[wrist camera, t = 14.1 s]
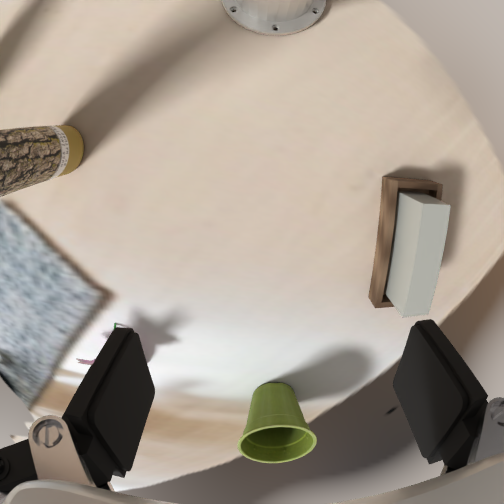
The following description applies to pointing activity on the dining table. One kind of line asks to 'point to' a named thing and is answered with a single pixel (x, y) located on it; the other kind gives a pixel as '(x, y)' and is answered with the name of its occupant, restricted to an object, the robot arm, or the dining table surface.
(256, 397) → the plant pot
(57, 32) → the dining table surface
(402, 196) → the pale grey block
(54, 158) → the paper tube
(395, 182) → the brown open box
